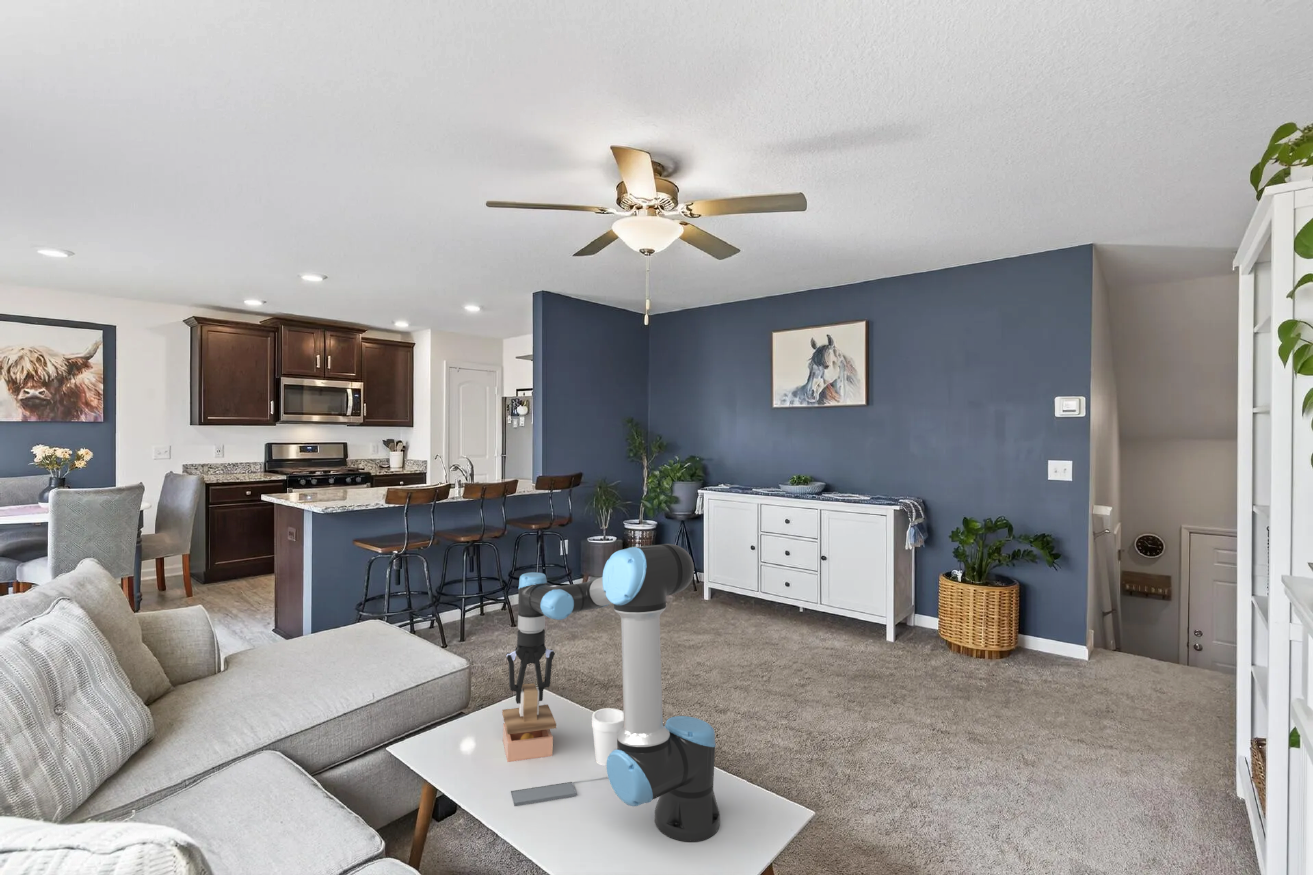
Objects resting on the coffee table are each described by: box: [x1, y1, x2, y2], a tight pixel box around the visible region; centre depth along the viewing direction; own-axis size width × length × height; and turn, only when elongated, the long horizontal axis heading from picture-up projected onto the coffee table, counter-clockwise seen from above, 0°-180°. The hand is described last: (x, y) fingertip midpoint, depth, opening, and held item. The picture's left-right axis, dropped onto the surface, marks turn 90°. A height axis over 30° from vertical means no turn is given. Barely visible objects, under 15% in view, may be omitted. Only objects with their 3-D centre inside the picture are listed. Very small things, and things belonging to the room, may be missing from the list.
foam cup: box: [591, 707, 624, 767], centre depth 172 cm, size 10×9×13 cm
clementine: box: [520, 733, 534, 740], centre depth 176 cm, size 4×4×4 cm
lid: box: [501, 682, 557, 734], centre depth 176 cm, size 13×13×9 cm
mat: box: [510, 781, 577, 807], centre depth 161 cm, size 17×15×1 cm
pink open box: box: [502, 722, 554, 763], centre depth 176 cm, size 12×12×6 cm
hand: (528, 713), depth 176 cm, fingers closed on lid, 3 cm apart
